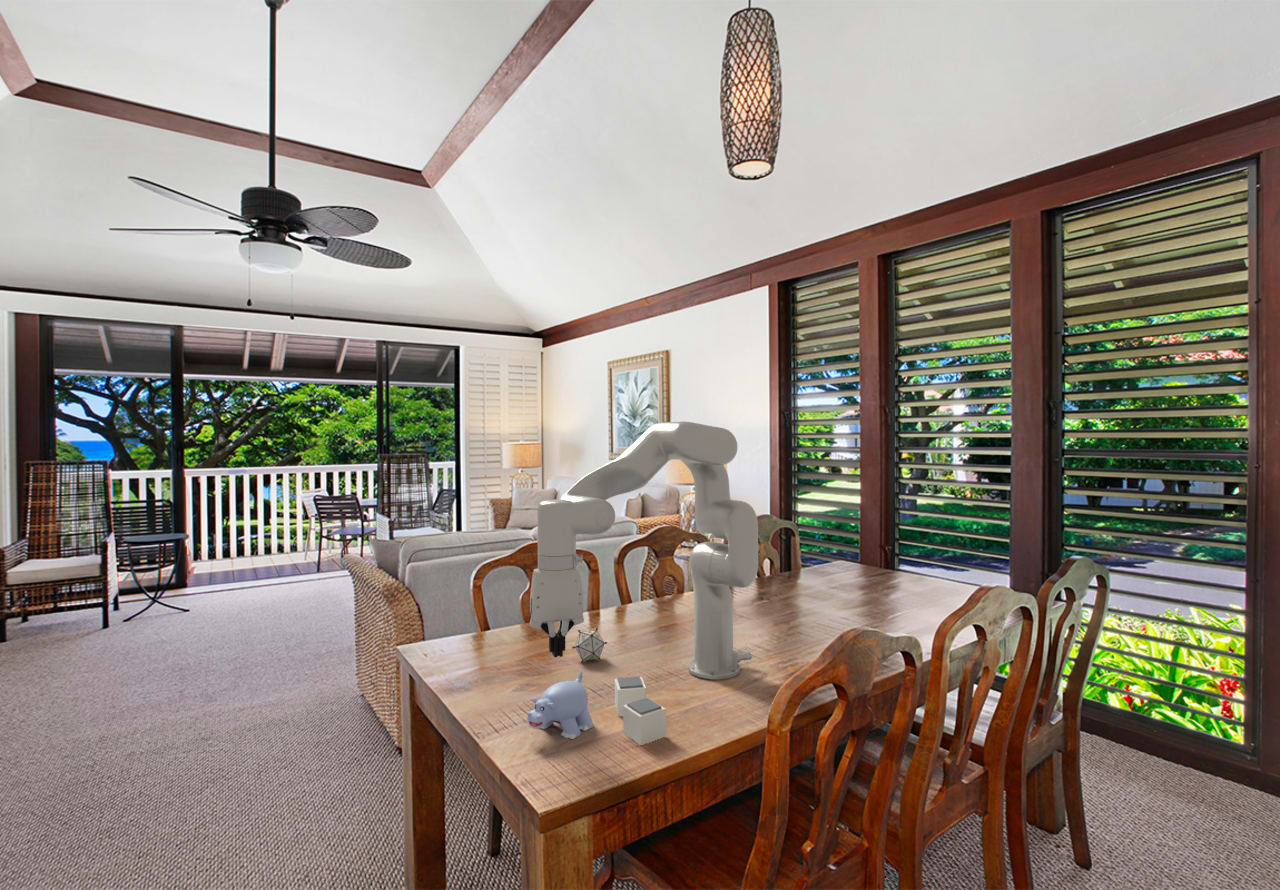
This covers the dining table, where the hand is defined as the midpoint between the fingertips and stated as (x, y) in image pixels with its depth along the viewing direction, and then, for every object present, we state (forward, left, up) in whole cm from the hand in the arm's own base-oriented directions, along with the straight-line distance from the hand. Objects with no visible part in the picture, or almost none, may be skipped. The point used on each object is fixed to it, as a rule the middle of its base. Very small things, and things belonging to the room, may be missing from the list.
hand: (557, 654), depth 123 cm
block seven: (-15, +8, -15) cm, 23 cm away
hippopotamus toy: (0, -1, -15) cm, 15 cm away
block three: (-16, -4, -15) cm, 23 cm away
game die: (-15, -35, -15) cm, 41 cm away
